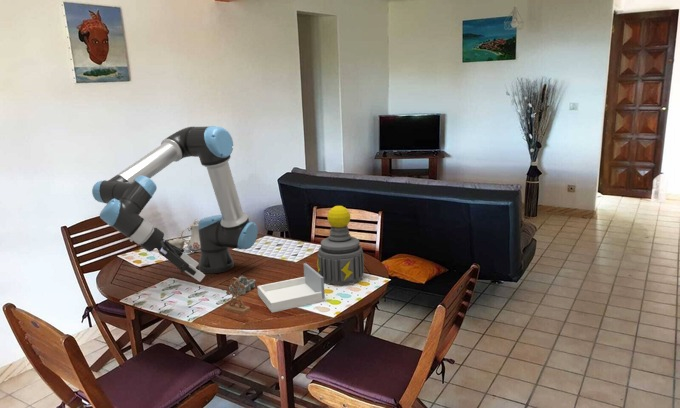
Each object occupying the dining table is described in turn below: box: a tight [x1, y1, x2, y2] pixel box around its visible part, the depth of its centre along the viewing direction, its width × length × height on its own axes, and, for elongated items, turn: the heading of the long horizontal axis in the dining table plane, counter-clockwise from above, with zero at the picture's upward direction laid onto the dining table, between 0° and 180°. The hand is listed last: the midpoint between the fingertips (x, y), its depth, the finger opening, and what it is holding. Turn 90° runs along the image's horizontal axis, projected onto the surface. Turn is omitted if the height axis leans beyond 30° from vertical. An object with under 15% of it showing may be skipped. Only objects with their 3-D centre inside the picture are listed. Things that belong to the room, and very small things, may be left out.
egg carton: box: [228, 275, 257, 296], centre depth 195 cm, size 11×8×4 cm
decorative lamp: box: [316, 205, 365, 286], centre depth 200 cm, size 19×19×30 cm
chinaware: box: [167, 218, 201, 252], centre depth 248 cm, size 28×17×17 cm, turn 129°
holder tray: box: [256, 262, 326, 313], centre depth 184 cm, size 18×20×9 cm
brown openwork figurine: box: [223, 277, 251, 314], centre depth 176 cm, size 9×4×12 cm, turn 62°
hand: (199, 272), depth 169 cm, fingers open, 13 cm apart
